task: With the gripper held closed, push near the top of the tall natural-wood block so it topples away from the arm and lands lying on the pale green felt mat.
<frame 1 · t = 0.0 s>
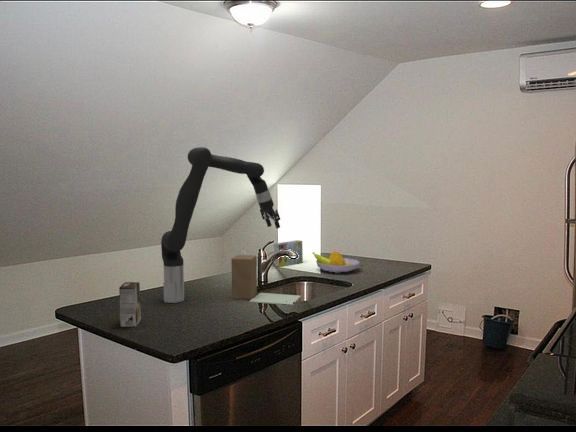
hand: (274, 227, 263), 31 cm above the countertop, tool tilted 20°, fingers open, 8 cm apart
coffee box: (130, 323, 200), on the countertop
felt mat: (275, 299, 236), on the countertop
snack box: (288, 264, 323), on the countertop
wooden block: (244, 297, 240), on the countertop
fruit bowl: (335, 271, 303), on the countertop
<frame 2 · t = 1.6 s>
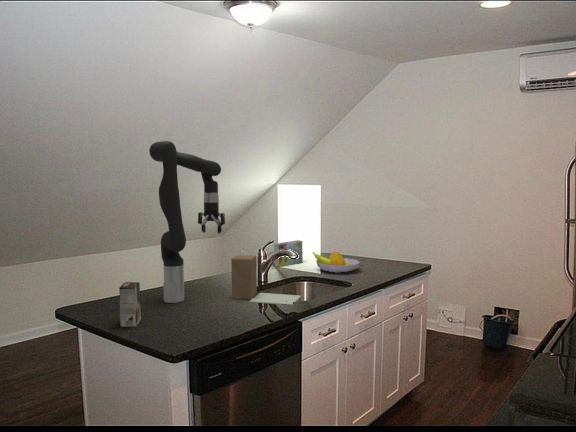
hand: (211, 232, 252), 30 cm above the countertop, tool pointing down, fingers open, 8 cm apart
nothing on the countertop moved.
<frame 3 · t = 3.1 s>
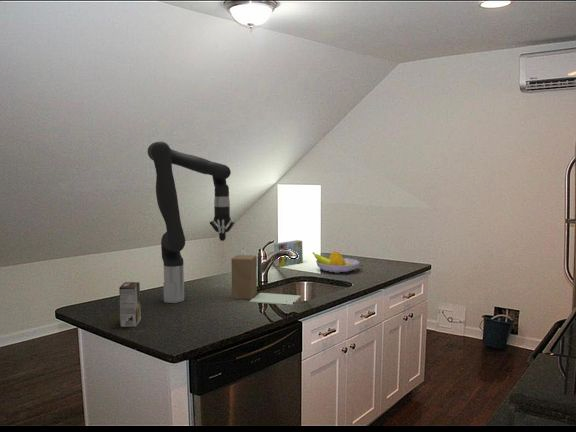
hand: (222, 240, 242), 27 cm above the countertop, tool pointing down, fingers closed
nothing on the countertop moved.
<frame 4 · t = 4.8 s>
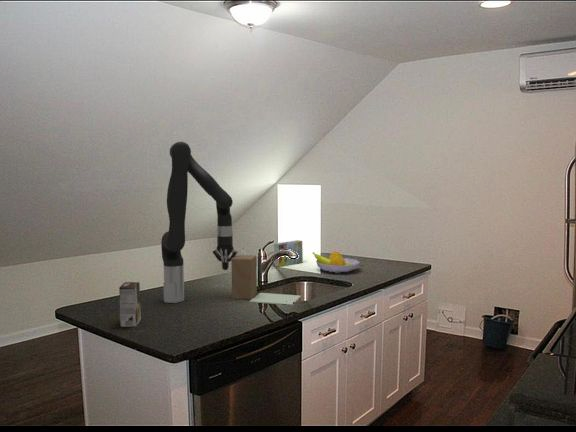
hand: (225, 269, 242), 13 cm above the countertop, tool pointing down, fingers closed
nothing on the countertop moved.
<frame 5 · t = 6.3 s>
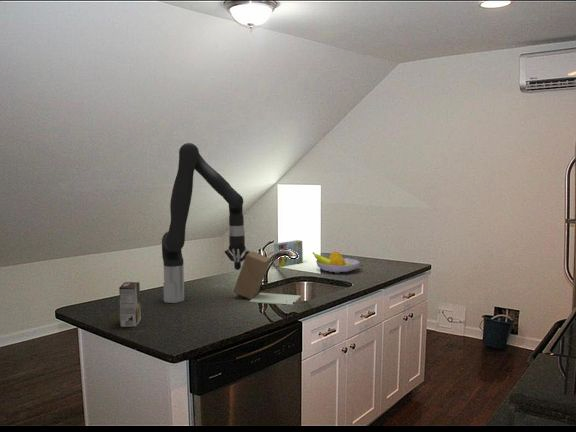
hand: (237, 269, 240), 13 cm above the countertop, tool pointing down, fingers closed
wooden block: (245, 293, 240), point 2 cm above the countertop
everything else where it was.
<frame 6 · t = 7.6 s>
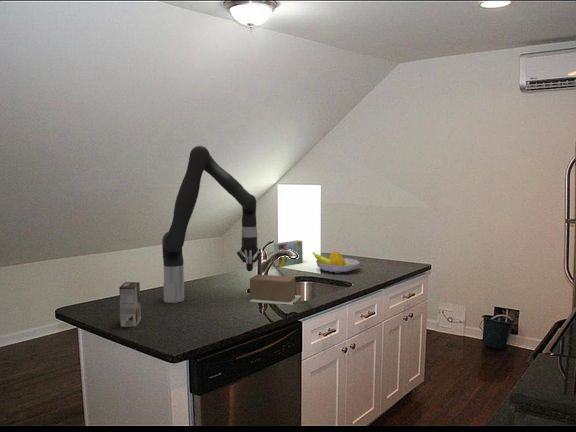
hand: (249, 270, 238), 13 cm above the countertop, tool pointing down, fingers closed
wooden block: (252, 286, 239), point 5 cm above the countertop, touching felt mat
everything else where it was.
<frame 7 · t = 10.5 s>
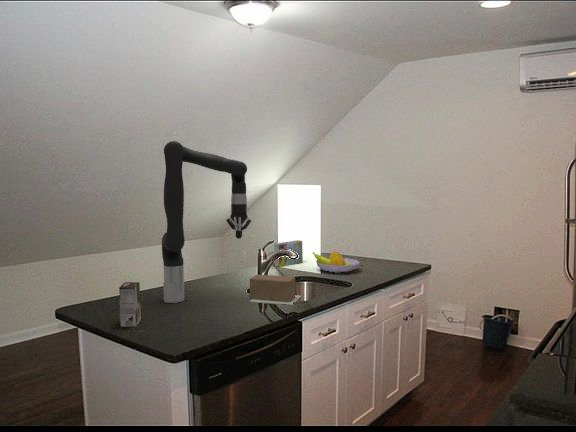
hand: (238, 238, 239), 29 cm above the countertop, tool pointing down, fingers closed
nothing on the countertop moved.
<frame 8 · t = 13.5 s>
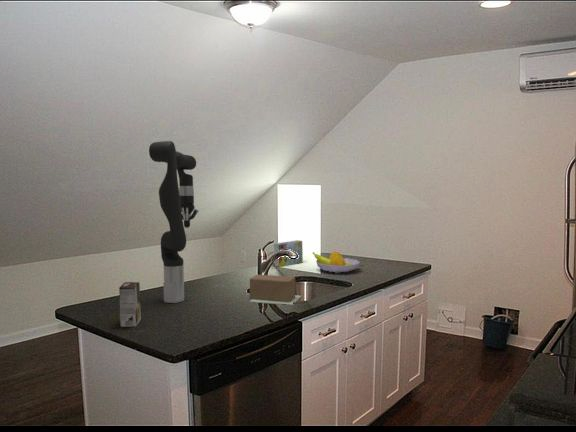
hand: (187, 227, 258), 32 cm above the countertop, tool pointing down, fingers closed
nothing on the countertop moved.
at the end: wooden block tilted 90°; wooden block inside the target area (11.2 cm from its centre), point 5.5 cm above the countertop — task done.
